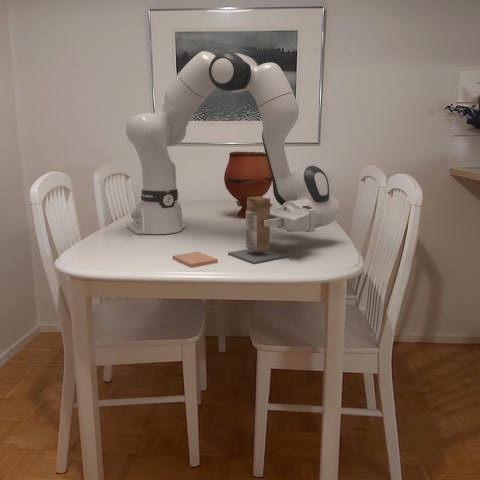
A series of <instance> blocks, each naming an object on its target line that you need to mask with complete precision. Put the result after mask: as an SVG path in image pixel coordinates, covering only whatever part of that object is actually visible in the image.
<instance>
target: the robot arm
mask: <svg viewBox="0 0 480 480" xmlns="http://www.w3.org/2000/svg"><path fill="white" fill-rule="evenodd" d="M216 88H217V89H219V90H220V91H223V92H229V93H235V94H236V93H249V92H250V93H251V94H252V97H253V98H254V101H255V102H256V106H257V108H258V112H259V114H260V118H261V122H262V123H261V124H262V125H261V126H262V132H261V139H262V145H263V149H264V153H265V154H266V157H267V161H268V165H269V169H270V172H271V176H272V191H273V196H274V198H275V200H276V202H277V203H278V205H281V207H280V209H278V207H273V206H272V207H270V219H263V220H262V224H261V225H262V226H264V227H269V226H270V227H274V228H278V229H282V230H285V231H287V232H289V233H291V232H294V233H295V232H298V233H299V232H305V233H314V232H315V231H316V228H322V227H325V226H328V225H331V224H333V223H334V222H335V221H337V219H338V218H339V215H340V211H341V206H340V203H339V201H338V199H337V198H335V196H333V194H332V193H331V191H330V184H329V180H328V177H327V175H326V173H325V172H324V170H323V169H321V168H320V167H318V166H316V165H309V166H306V167H304V168H301V169H298V170H297V171H295V172H293V173H292V172H291V170H290V167H289V166H290V165H289V163H288V159H287V158H288V157H287V155H286V151H285V142H286V139H287V137H288V135H289V133H290V132H291V130H292V129H293V128H294V126H295V125H296V123H297V121H298V119H299V114H300V110H299V103H298V102H297V101H298V100H297V99H296V96H295V94H294V91H293V88H292V86H291V84H290V82H289V80H288V78H287V77H286V75H285V73H284V70H282V68H281V67H280V66H279V65H278V63H275V62H265V63H261V64H259V63H258V62H257V60H256V59H254V57H251V56H248V55H246V54H243V53H238V52H237V53H236V52H231V51H226V52H221V53H219V54H217V55H215V53H213V52H209V51H206V50H203V51H200V52H198V53H197V54H195V56H194V57H192V58H191V59H190V60H189V61H188V62H187V63H186V64H185V65H184V66H183V68H182V69H181V70H180V71H179V72H178V74H177V75H176V77H175V78H174V79H173V80H172V82H171V83H170V84H169V86H168V87H167V88H166V89H165V91H164V93H163V94H164V101H163V103H162V106H161V108H160V109H159V110H158V111H155V112H141V113H139V114H135V115H133V116H131V117H130V118H129V119H128V121H127V123H126V126H125V134H126V137H127V140H128V141H129V142H130V143H131V144H132V145H133V146H134V148H135V150H136V152H137V155H138V158H139V162H140V167H141V177H142V190H141V192H140V196H141V197H140V202H139V203H138V204H137V206H136V207H135V208H134V210H133V211H132V212H131V216H130V217H131V219H132V220H133V221H132V222H129V223H126V227H127V228H129V229H130V231H132V232H133V233H134V234H135V235H142V234H143V235H145V234H147V235H166V234H167V235H168V234H169V235H170V234H176V233H179V232H181V231H183V229H185V228H187V225H186V224H185V223H184V220H183V210H182V204H181V203H180V202H178V200H179V191H178V188H177V173H176V172H177V170H176V169H177V168H176V165H175V163H174V161H173V160H172V159H171V157H170V155H169V150H168V147H173V146H176V145H177V144H179V143H181V142H182V141H183V140H184V139H185V137H186V135H187V127H188V124H189V122H190V121H191V118H192V116H194V114H195V113H196V112H197V110H198V109H199V108H200V106H201V105H202V104H203V103H204V101H205V100H206V99H207V98H208V97H209V95H210V94H211V93H212V91H214V89H216Z"/></svg>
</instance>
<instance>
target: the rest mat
mask: <svg viewBox="0 0 480 480" xmlns="http://www.w3.org/2000/svg"><path fill="white" fill-rule="evenodd" d="M227 256H231V257H234V258H236V259H239V260H241V261H244V262H247V263H250V264H252V265H257V264H261V263H266V262H271V261H272V262H273V261H275V260H276V261H277V260H280V259H286V258H289V257H290V255H289V254H288V253H284V252H280V251H278V250H275V249H271V248H270V250H264V251H259V252H257V251H254V250H251V249H248V248H245V249H240V250H236V251H228V252H227Z"/></svg>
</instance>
